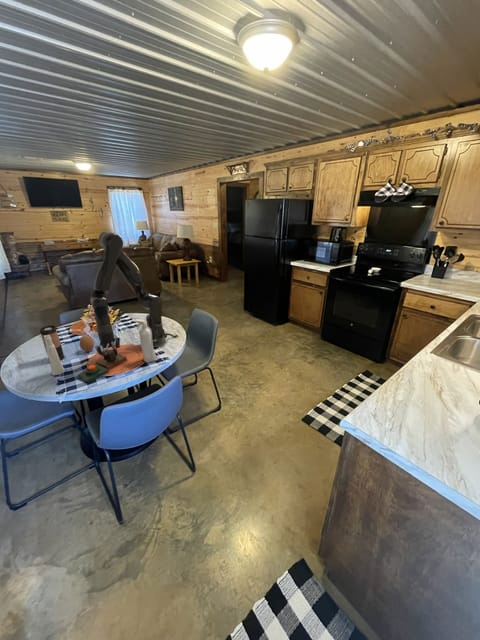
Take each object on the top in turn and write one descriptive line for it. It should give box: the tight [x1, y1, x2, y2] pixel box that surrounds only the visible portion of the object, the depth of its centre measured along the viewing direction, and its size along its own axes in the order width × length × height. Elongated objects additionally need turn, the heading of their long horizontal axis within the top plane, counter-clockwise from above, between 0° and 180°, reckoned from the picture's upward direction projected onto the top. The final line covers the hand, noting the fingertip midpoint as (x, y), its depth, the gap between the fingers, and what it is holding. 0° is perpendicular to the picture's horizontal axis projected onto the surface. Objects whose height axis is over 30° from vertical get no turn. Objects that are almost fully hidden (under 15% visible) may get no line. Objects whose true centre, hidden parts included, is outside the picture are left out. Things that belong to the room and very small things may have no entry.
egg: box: [79, 334, 95, 353], centre depth 161 cm, size 8×8×11 cm
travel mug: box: [39, 325, 65, 361], centre depth 150 cm, size 8×8×20 cm
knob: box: [107, 349, 116, 362], centre depth 148 cm, size 5×5×5 cm
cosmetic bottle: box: [44, 335, 66, 376], centre depth 137 cm, size 6×6×22 cm
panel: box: [96, 353, 128, 372], centre depth 149 cm, size 12×10×3 cm
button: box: [87, 364, 96, 371], centre depth 137 cm, size 4×4×2 cm
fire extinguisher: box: [134, 318, 159, 363], centre depth 148 cm, size 7×12×25 cm, turn 61°
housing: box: [77, 364, 109, 384], centre depth 138 cm, size 11×9×4 cm
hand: (111, 357), depth 148 cm, fingers closed on knob, 5 cm apart
